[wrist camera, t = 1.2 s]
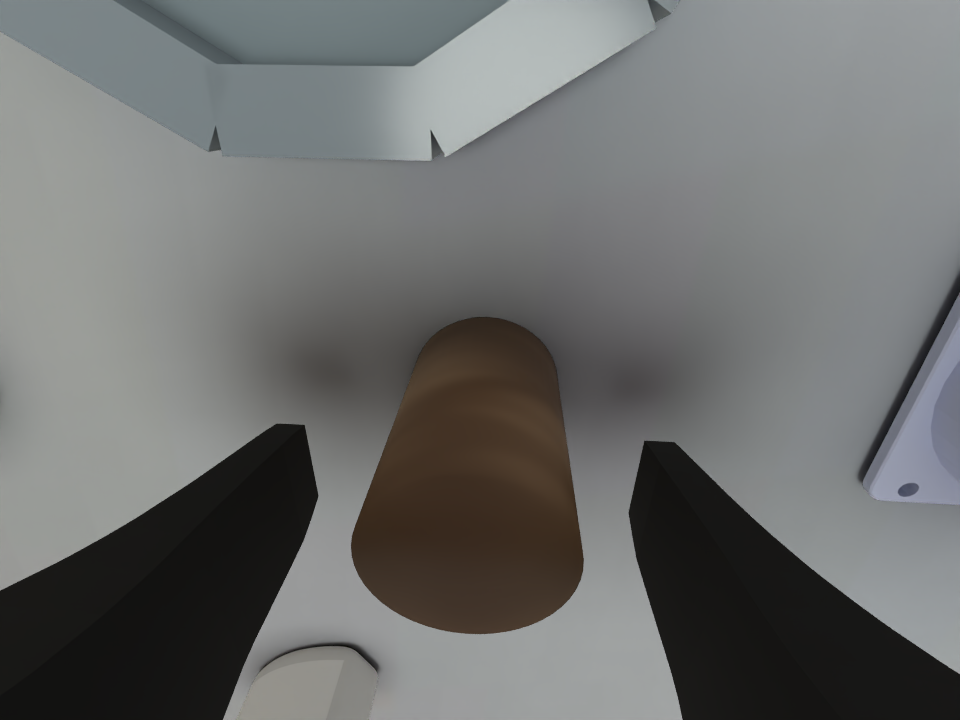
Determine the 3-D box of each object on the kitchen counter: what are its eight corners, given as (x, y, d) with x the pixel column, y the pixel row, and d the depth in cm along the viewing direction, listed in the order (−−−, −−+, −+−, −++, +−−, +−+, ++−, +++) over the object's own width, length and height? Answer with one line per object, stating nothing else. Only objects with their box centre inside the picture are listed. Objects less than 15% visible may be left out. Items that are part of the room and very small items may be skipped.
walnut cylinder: (563, 320, 13) (598, 482, 7) (551, 443, 14) (570, 641, 9) (410, 314, 13) (337, 467, 8) (418, 436, 15) (363, 626, 9)
